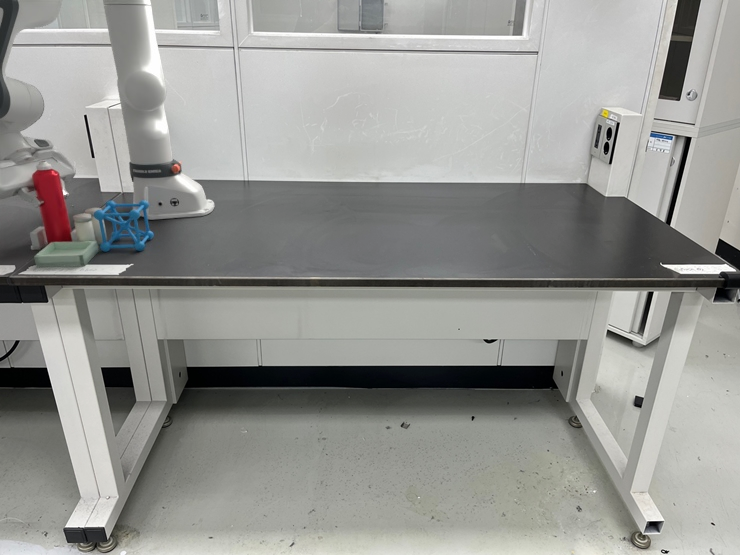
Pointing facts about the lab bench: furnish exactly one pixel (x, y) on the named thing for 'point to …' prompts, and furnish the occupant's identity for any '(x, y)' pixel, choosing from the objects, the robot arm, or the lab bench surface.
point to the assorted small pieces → (70, 243)
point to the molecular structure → (124, 225)
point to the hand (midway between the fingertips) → (53, 201)
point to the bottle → (52, 203)
